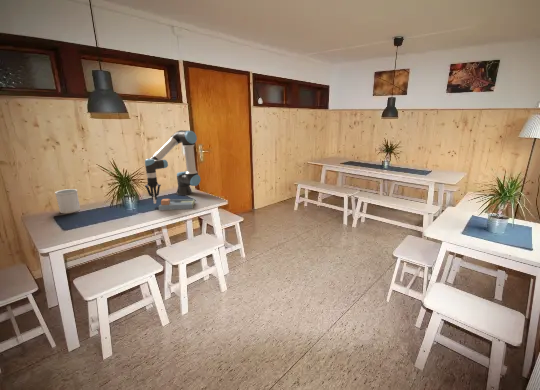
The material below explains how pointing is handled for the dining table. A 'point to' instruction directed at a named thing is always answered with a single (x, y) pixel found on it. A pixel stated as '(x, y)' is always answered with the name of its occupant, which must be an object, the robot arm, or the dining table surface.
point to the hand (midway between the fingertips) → (155, 203)
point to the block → (165, 201)
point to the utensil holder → (68, 200)
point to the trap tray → (178, 204)
